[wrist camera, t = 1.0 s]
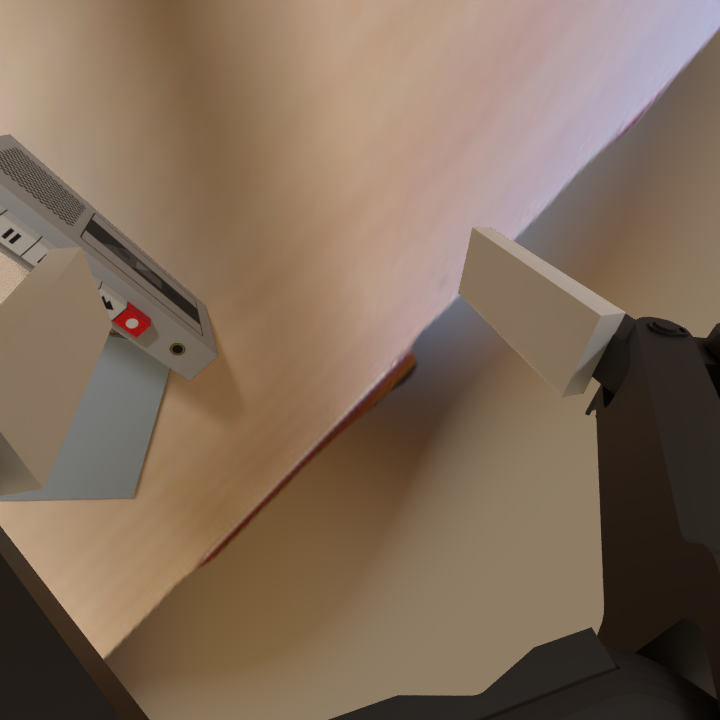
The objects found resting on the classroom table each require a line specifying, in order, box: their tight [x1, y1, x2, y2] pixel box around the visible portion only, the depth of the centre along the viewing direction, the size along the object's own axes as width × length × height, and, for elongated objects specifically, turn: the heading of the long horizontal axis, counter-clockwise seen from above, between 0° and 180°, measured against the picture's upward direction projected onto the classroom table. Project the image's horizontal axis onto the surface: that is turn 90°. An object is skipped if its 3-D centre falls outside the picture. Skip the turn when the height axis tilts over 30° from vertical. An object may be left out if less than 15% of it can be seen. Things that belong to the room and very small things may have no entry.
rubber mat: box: [0, 333, 170, 501], centre depth 32 cm, size 18×18×1 cm
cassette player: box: [0, 134, 218, 381], centre depth 25 cm, size 16×3×10 cm, turn 34°
